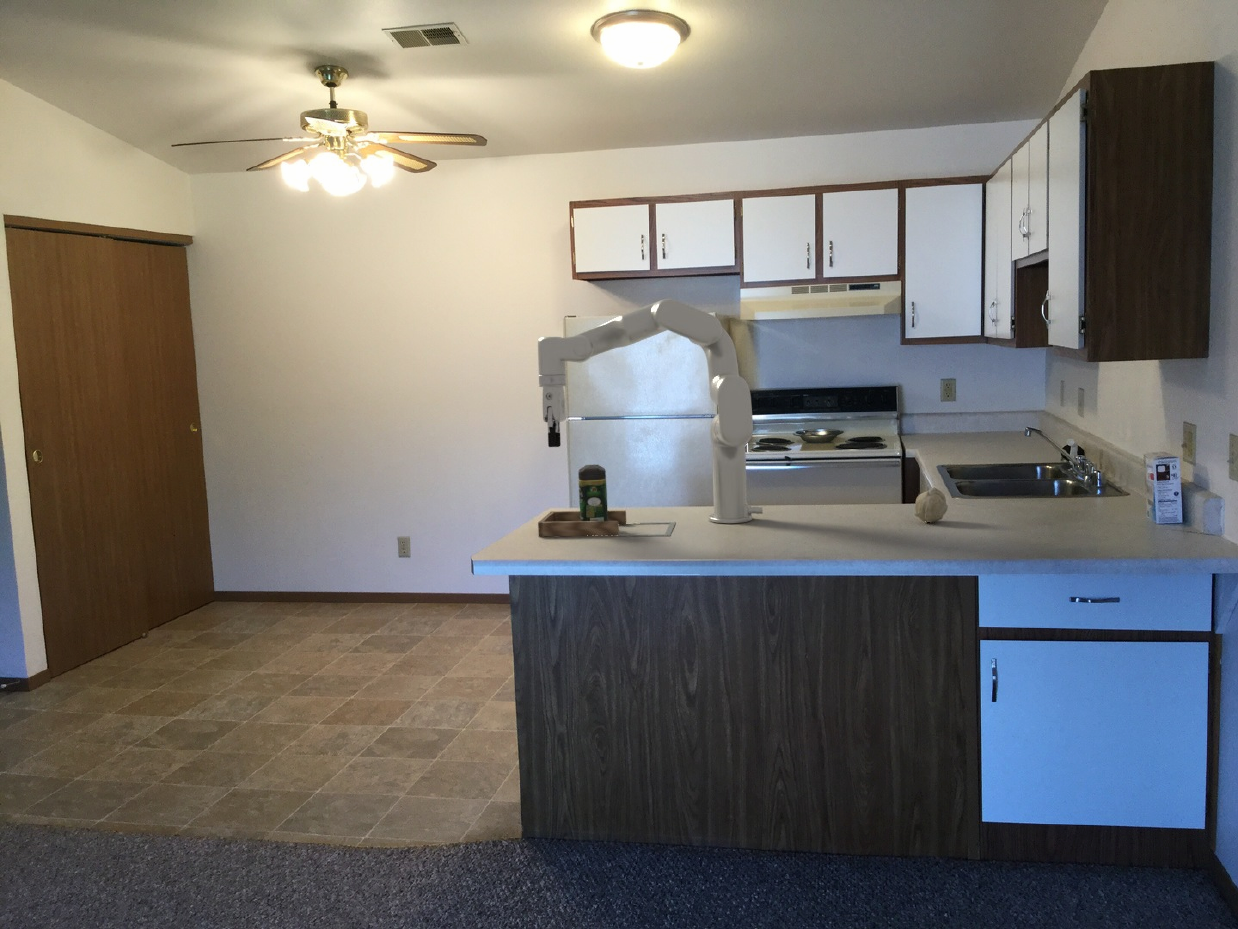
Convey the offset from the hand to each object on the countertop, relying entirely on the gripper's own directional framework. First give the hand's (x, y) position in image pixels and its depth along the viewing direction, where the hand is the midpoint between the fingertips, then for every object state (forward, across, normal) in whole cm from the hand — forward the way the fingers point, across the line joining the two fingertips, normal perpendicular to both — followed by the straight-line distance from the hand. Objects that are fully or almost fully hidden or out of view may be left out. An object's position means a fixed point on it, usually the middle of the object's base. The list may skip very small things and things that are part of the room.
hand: (554, 446), depth 273 cm
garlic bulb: (+23, +5, -104) cm, 106 cm away
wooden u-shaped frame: (+24, 0, -8) cm, 25 cm away
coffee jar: (+24, 0, -11) cm, 26 cm away
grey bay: (+24, 0, -26) cm, 35 cm away
